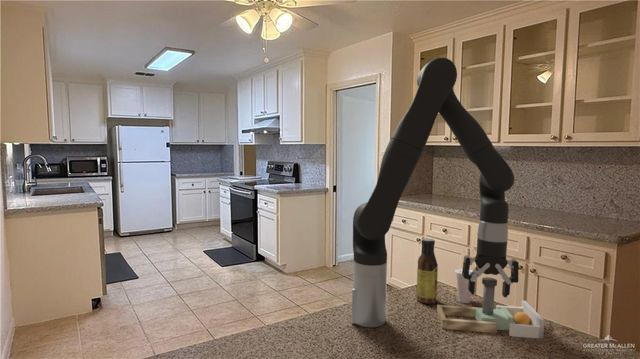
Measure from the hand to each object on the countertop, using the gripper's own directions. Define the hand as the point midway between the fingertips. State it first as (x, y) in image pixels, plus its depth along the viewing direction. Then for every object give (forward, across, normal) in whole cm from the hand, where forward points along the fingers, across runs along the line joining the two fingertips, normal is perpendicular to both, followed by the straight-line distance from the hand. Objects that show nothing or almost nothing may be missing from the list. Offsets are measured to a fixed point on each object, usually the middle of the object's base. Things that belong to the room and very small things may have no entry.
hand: (488, 294), depth 109 cm
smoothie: (+9, -3, +16) cm, 19 cm away
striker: (+8, +2, 0) cm, 8 cm away
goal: (+8, +8, 0) cm, 12 cm away
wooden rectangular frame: (+8, -5, 0) cm, 10 cm away
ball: (+6, +9, 0) cm, 11 cm away
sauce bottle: (+9, -15, +14) cm, 22 cm away
